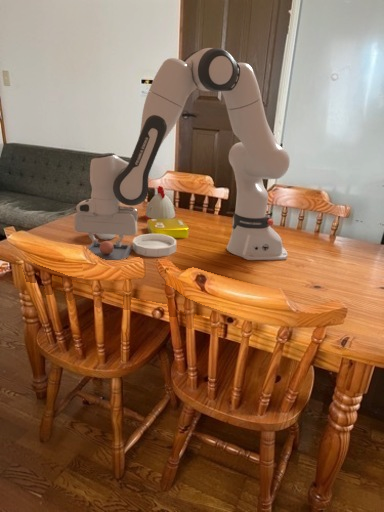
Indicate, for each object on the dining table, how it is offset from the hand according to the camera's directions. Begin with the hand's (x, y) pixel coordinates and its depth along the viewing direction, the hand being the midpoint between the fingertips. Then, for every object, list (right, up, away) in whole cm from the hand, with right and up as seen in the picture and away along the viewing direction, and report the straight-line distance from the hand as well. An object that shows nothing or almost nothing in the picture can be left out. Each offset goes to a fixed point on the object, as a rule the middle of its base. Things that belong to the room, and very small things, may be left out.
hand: (107, 245), depth 117 cm
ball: (0, -1, 0) cm, 1 cm away
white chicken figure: (+14, +14, +47) cm, 51 cm away
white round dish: (+15, -1, +11) cm, 18 cm away
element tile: (+18, +6, +29) cm, 35 cm away
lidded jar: (-5, +4, +19) cm, 20 cm away
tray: (0, -4, +1) cm, 4 cm away
